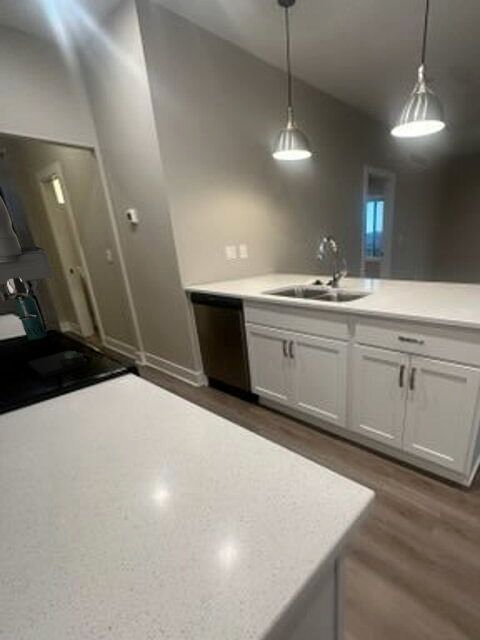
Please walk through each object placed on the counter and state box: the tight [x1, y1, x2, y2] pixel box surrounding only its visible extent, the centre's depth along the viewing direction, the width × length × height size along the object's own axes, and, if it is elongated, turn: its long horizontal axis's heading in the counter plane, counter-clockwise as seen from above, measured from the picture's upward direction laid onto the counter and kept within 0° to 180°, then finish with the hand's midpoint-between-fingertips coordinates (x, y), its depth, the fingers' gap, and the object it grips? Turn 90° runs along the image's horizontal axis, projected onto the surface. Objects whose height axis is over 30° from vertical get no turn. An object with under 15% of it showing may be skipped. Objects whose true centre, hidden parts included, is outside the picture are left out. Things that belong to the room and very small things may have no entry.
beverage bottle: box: [14, 296, 48, 341], centre depth 130 cm, size 6×7×20 cm
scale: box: [27, 350, 89, 379], centre depth 108 cm, size 12×16×3 cm
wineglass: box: [2, 278, 36, 321], centre depth 103 cm, size 6×6×12 cm
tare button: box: [64, 350, 78, 359], centre depth 106 cm, size 3×3×2 cm
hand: (19, 297), depth 103 cm, fingers closed on wineglass, 5 cm apart
